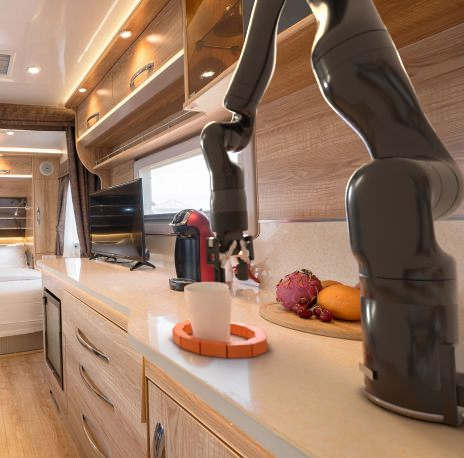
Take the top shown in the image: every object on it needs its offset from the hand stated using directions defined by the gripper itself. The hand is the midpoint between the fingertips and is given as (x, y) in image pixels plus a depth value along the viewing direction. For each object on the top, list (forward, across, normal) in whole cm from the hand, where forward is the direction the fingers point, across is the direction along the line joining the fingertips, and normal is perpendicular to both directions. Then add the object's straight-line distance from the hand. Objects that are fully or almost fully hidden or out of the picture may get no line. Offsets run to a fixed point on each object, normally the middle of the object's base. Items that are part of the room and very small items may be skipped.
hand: (232, 282), depth 74 cm
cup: (+12, -8, 0) cm, 14 cm away
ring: (+12, -6, 0) cm, 14 cm away
